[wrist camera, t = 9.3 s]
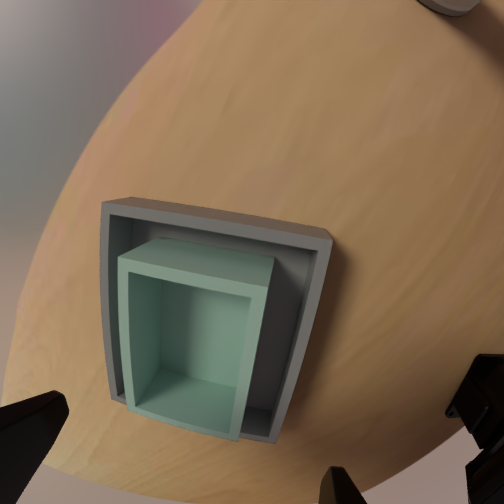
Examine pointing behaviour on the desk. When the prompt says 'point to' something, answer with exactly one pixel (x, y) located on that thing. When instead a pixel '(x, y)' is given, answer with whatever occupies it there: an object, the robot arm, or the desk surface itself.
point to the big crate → (278, 302)
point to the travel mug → (451, 6)
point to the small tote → (191, 332)
